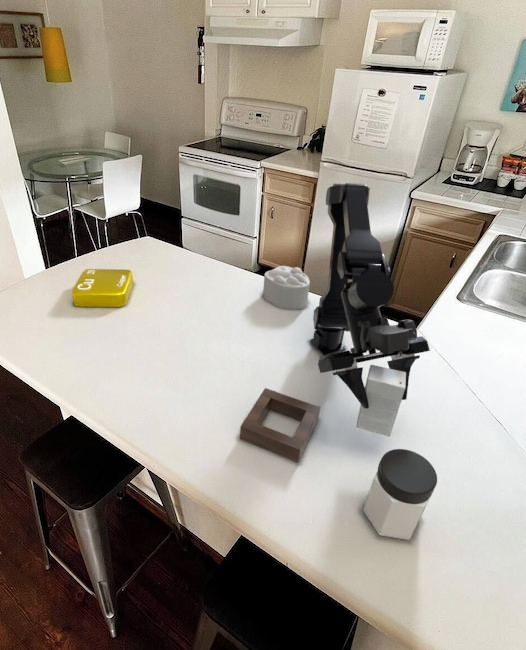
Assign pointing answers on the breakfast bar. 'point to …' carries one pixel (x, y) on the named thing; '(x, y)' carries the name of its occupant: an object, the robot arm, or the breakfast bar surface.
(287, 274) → the lumpy-topped squat cylinder
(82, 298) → the element tile
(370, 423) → the cosmetic box
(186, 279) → the breakfast bar surface
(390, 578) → the breakfast bar surface
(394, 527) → the jar
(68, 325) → the breakfast bar surface
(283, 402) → the frame
